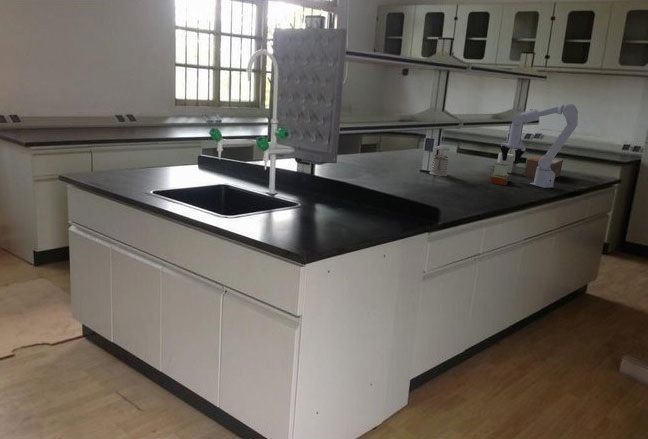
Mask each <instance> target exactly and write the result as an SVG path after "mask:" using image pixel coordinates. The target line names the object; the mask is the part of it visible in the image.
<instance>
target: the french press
mask: <svg viewBox="0 0 648 439" xmlns="http://www.w3.org/2000/svg"><path fill="white" fill-rule="evenodd" d="M445 135H446V133H444V135H443V137H445ZM442 140H443V141H442V144H441V145H437V146H434V149H435V150H438V151H439V152H438V154H434V157H433V159H432V160H433V161H432V166H431V171H429V172H428V173H429V174H430V175H434V176H437V177H438V176H440V177H441V176H442V177H447V176H448V173H447V172H448V171H447V170H448V162H449V159H448V156H447V155H444V152H443V151H446V152H449V151H451V149H450V148H449V147H448V146H446V145H444V142H445V139H442ZM440 151H442V152H440Z"/></svg>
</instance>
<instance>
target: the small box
mask: <svg viewBox="0 0 648 439" xmlns="http://www.w3.org/2000/svg"><path fill="white" fill-rule="evenodd" d="M514 161H515V154H512V153H508V154H507V159H506V161H503V157H502V152H499V153H498V156H497V162H501V163H507V164H509V165H508V170H507V174H512V172H513V165H514ZM497 162H496V163H497Z"/></svg>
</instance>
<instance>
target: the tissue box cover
mask: <svg viewBox="0 0 648 439" xmlns="http://www.w3.org/2000/svg"><path fill="white" fill-rule="evenodd" d="M542 156H543V155H536V156H533V157H530V158H527V159H526V163H525V168H524V169H525V170H524V173H523V176H524V177H527V178H532V179H535V174H536V169H537V167H538V166H539V165H538V161H539V160H540V158H541V157H542ZM563 162H564V159H561V158H555V157H554V158H553V160H552V164H551V166H550V168H551V171H553V172H554V173H555V179H557V178H558V177H560V176H561V172H562V166H563ZM556 177H557V178H556Z"/></svg>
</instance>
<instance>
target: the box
mask: <svg viewBox="0 0 648 439" xmlns="http://www.w3.org/2000/svg"><path fill="white" fill-rule="evenodd" d="M494 164H495V165H494V170H493V173H494V175H499V176H506V175H507V174H508V173H507V170H508V165H509V164H507V163H501V162H495V163H494Z"/></svg>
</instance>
